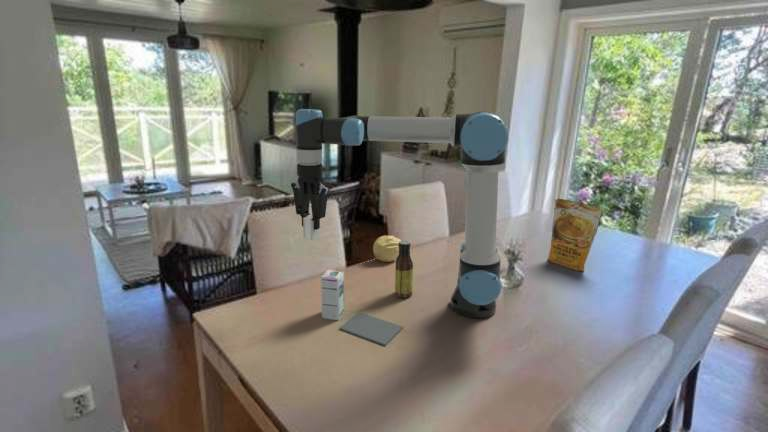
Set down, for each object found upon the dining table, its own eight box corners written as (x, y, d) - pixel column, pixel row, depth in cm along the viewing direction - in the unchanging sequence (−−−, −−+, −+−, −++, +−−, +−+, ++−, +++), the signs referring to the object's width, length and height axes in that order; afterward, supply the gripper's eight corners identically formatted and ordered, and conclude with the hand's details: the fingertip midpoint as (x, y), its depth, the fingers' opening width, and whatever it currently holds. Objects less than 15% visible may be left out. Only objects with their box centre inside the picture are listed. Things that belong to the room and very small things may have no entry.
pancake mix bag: (549, 256, 186) (559, 196, 178) (591, 270, 172) (604, 206, 164) (541, 259, 182) (551, 198, 174) (584, 274, 168) (597, 209, 160)
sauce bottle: (414, 292, 147) (418, 241, 141) (408, 300, 141) (411, 246, 136) (398, 288, 149) (400, 238, 144) (391, 296, 144) (393, 243, 138)
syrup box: (339, 320, 127) (339, 278, 123) (321, 318, 128) (320, 276, 124) (344, 311, 132) (344, 270, 128) (327, 309, 133) (326, 268, 129)
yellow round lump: (379, 266, 168) (380, 241, 165) (369, 255, 179) (369, 232, 176) (404, 262, 173) (405, 238, 170) (392, 252, 183) (393, 229, 180)
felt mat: (403, 328, 124) (403, 326, 124) (385, 346, 115) (385, 344, 115) (359, 313, 132) (359, 311, 132) (339, 329, 123) (339, 327, 122)
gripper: (338, 164, 120) (337, 239, 127) (298, 158, 127) (300, 230, 134) (322, 167, 114) (322, 246, 120) (281, 161, 121) (284, 236, 128)
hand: (310, 237), depth 127 cm, fingers open, 2 cm apart
